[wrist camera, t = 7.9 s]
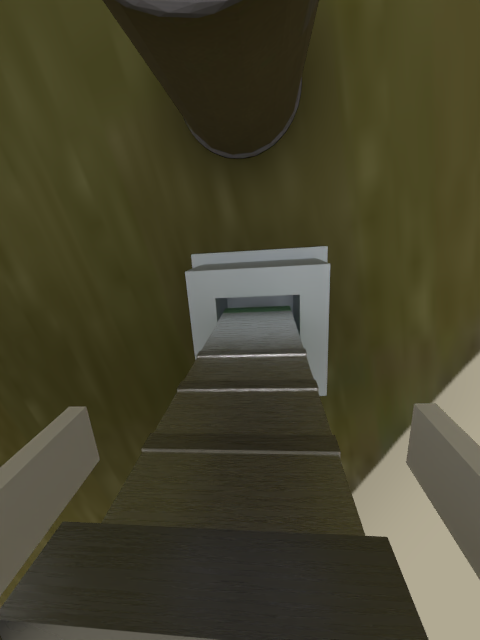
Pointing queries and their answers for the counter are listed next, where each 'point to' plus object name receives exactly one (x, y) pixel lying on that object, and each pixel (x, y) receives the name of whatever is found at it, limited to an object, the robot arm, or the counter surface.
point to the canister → (225, 64)
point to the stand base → (265, 294)
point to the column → (225, 519)
